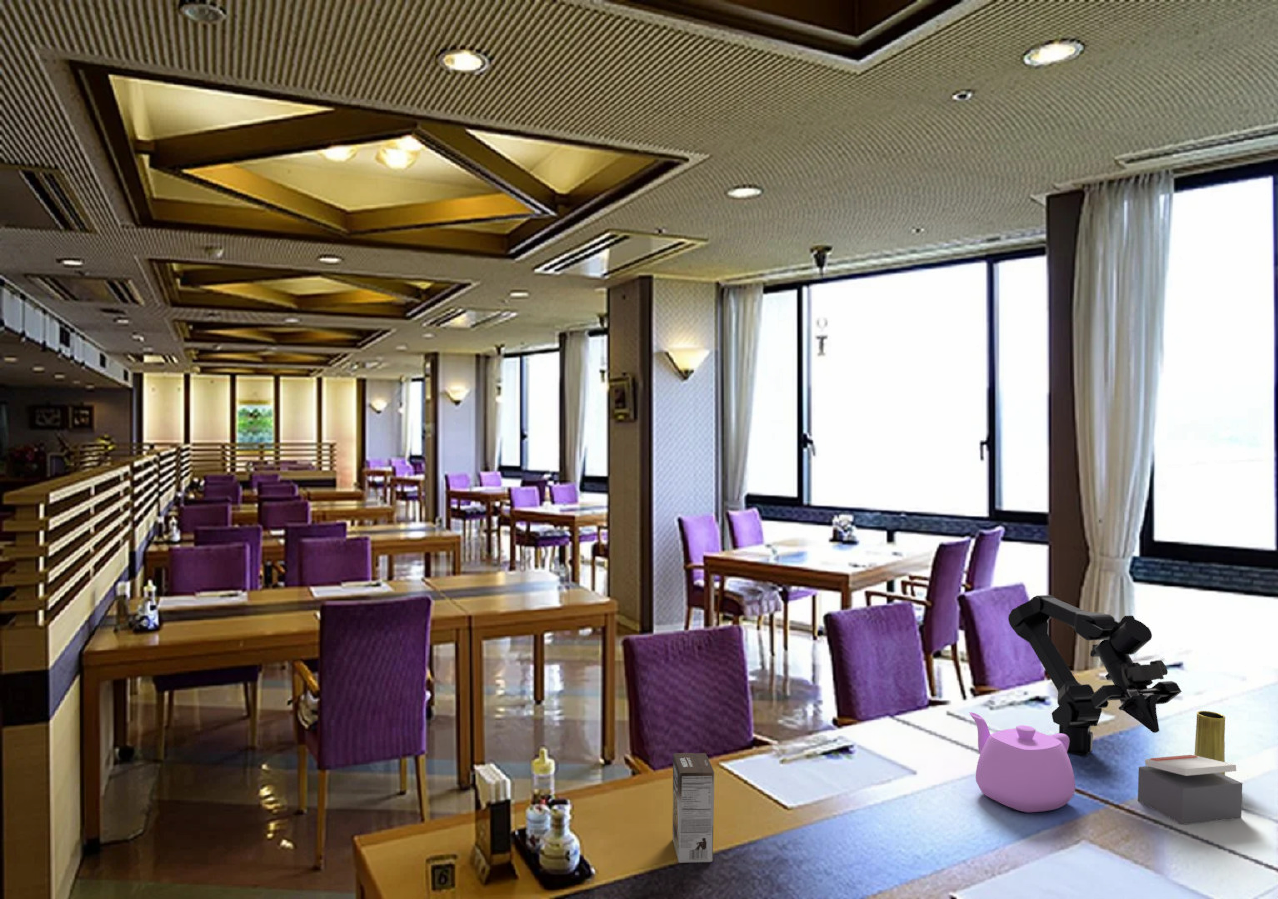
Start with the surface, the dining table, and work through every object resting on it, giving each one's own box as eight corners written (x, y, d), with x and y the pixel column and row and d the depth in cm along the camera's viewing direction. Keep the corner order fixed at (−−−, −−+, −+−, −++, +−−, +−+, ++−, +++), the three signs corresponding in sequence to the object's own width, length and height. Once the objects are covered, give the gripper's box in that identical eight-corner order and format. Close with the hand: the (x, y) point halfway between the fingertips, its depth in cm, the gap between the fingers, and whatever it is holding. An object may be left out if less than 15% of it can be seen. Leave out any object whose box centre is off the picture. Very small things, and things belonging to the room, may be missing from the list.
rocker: (1145, 765, 179) (1144, 758, 179) (1194, 761, 181) (1193, 754, 181) (1185, 775, 169) (1184, 768, 169) (1236, 771, 172) (1235, 763, 172)
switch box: (1137, 800, 179) (1138, 767, 179) (1194, 795, 182) (1195, 762, 182) (1181, 824, 168) (1182, 788, 168) (1241, 818, 172) (1242, 783, 171)
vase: (1231, 785, 187) (1233, 720, 187) (1199, 783, 188) (1201, 718, 188) (1218, 774, 193) (1220, 711, 193) (1187, 772, 194) (1189, 709, 194)
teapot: (1101, 805, 177) (1102, 731, 177) (1028, 824, 168) (1030, 747, 167) (1009, 765, 198) (1010, 699, 197) (940, 780, 188) (941, 712, 188)
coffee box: (671, 839, 160) (672, 752, 160) (705, 838, 161) (706, 751, 160) (677, 863, 151) (678, 772, 151) (713, 862, 152) (715, 771, 151)
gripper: (1103, 648, 186) (1141, 717, 175) (1176, 645, 190) (1217, 712, 179) (1075, 674, 194) (1110, 741, 183) (1146, 669, 198) (1184, 735, 188)
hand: (1156, 732), depth 183 cm, fingers closed
